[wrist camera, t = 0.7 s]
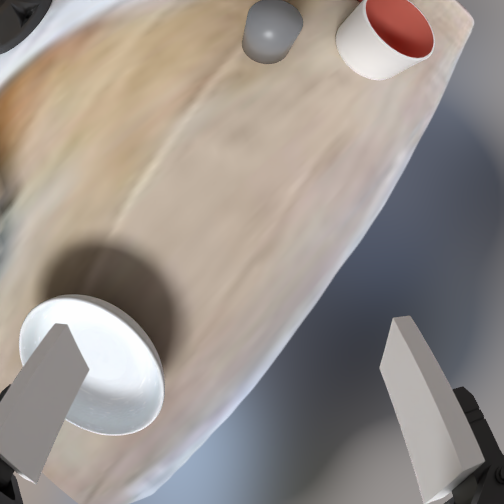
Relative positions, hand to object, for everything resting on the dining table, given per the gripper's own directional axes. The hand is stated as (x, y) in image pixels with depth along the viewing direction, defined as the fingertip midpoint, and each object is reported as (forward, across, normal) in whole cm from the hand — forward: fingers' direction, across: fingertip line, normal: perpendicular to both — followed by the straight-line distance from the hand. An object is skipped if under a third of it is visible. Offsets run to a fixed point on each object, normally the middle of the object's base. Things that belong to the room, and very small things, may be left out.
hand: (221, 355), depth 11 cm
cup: (+34, +17, +18) cm, 42 cm away
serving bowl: (+20, -22, -19) cm, 35 cm away
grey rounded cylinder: (+32, +3, +18) cm, 37 cm away
